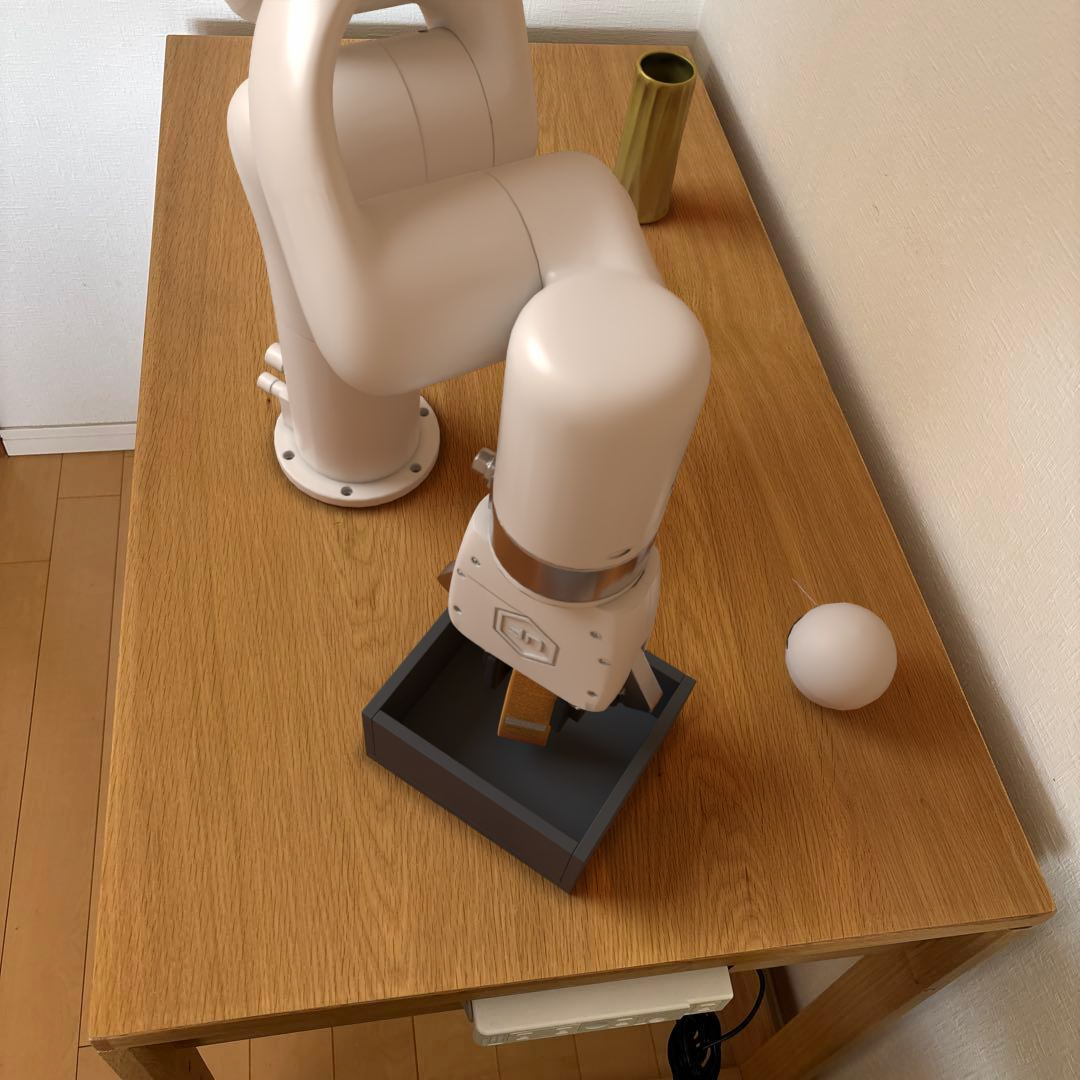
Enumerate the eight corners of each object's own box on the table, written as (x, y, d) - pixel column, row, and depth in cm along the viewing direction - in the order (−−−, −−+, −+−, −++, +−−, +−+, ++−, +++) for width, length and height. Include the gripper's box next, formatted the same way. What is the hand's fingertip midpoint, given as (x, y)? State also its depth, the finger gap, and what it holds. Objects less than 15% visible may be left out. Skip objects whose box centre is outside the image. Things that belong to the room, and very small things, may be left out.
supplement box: (549, 750, 64) (568, 681, 56) (496, 738, 64) (507, 668, 56) (559, 702, 66) (579, 629, 58) (507, 690, 66) (520, 616, 58)
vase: (679, 200, 100) (715, 64, 88) (649, 234, 97) (681, 97, 85) (625, 174, 101) (653, 36, 89) (594, 206, 98) (618, 68, 86)
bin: (365, 755, 66) (360, 711, 60) (484, 606, 73) (490, 554, 67) (568, 894, 63) (584, 862, 57) (673, 724, 70) (697, 680, 64)
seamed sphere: (890, 717, 72) (935, 671, 65) (793, 736, 70) (829, 691, 64) (837, 594, 77) (873, 541, 71) (745, 609, 75) (774, 556, 69)
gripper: (373, 484, 46) (384, 663, 62) (695, 680, 42) (622, 819, 58) (468, 385, 50) (456, 577, 65) (772, 557, 46) (684, 718, 62)
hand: (534, 689), depth 61 cm, fingers closed on supplement box, 3 cm apart
